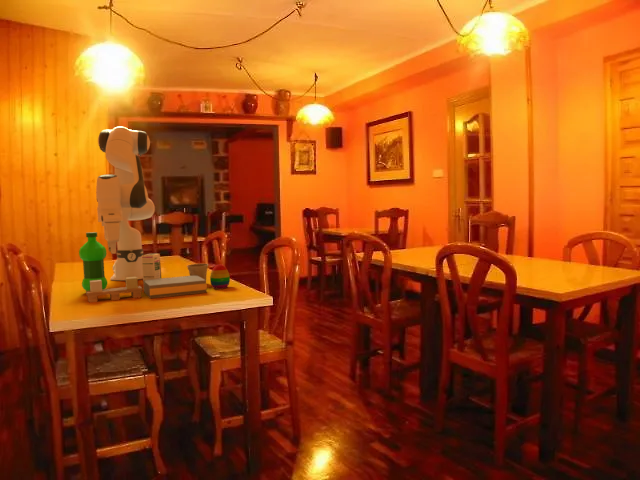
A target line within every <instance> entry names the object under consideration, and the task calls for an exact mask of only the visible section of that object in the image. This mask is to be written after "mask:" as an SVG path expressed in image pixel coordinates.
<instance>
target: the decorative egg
mask: <svg viewBox="0 0 640 480" xmlns="http://www.w3.org/2000/svg"><path fill="white" fill-rule="evenodd" d="M229 272H230V271H228V269H227V267H226V266H224V264H222V263H221V264H219V263H218V264H216V265H215V266H214V267H213V268H212V270H211V272H210V277H209V278H210V284H211V286H212V288H213V289H218V290H219V289H221V290H222V289H226V288H228V287H229V285H230V281H231V279H230V278H231V277H230V273H229Z"/></svg>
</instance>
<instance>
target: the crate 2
mask: <svg viewBox="0 0 640 480" xmlns="http://www.w3.org/2000/svg"><path fill="white" fill-rule="evenodd" d="M125 279H126V280H125V287H126V288H127V289H134V288H138V286H139V285H138V279H137V277H127V278H125Z"/></svg>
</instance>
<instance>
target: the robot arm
mask: <svg viewBox="0 0 640 480" xmlns="http://www.w3.org/2000/svg"><path fill="white" fill-rule="evenodd" d="M97 144H98V146H99V149H100V151H101V152H102V153H105V158H106V160H107V162H108V163H109V164H110V165H111V166H113V167H114V174H102V175H99V176H97V177H96V178H97V179H96V189H95V190H96V191H95V192H96V193H95V194H96V202H97V209H96V210H97V222H98V223H101V226H102V227H103V233H104V240H106V241H107V246H108V247H107V248H108V252H109V253H111V254H112V255H113V254H115V255H116V260H115V261H114V264H113V266H112V271H113V275H112V276H111V277H110V281H126V279H125V278H127V277H137V280H143V270H142V255H144V249H143V245H142V234H141V232H140V231H139V230H138V229H137V228H135V227H132V226H131V225H130V223H129V221H141V220H146V219H150V218H152V217H153V215H154V214H155V210H156V209H155V208H156V207H155V204H154V202H153V200H152V199H150V198H149V194H148V191H147V190H148V189H147V187H146V183H145V177H144V171H143V166H142V161H141V158H140V157H142V156H143V155H145V154H147V152H148V151H149V149H150V146H151V140H150V137H149V134H148V133H147V132H146V131H142V130H134V129H133V130H132V129H128V128H127V127H125V126H116V127H113V128H112V129H103V130H101V131H100V133H99V135H98V137H97Z"/></svg>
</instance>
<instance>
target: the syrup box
mask: <svg viewBox="0 0 640 480" xmlns="http://www.w3.org/2000/svg"><path fill="white" fill-rule="evenodd" d="M160 254H161V253H147V254H143V255H142V270H143V279H142V280H149V279H160V278H162V266H161V255H160ZM142 282H143V281H142ZM143 285H144V282H143Z"/></svg>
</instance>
